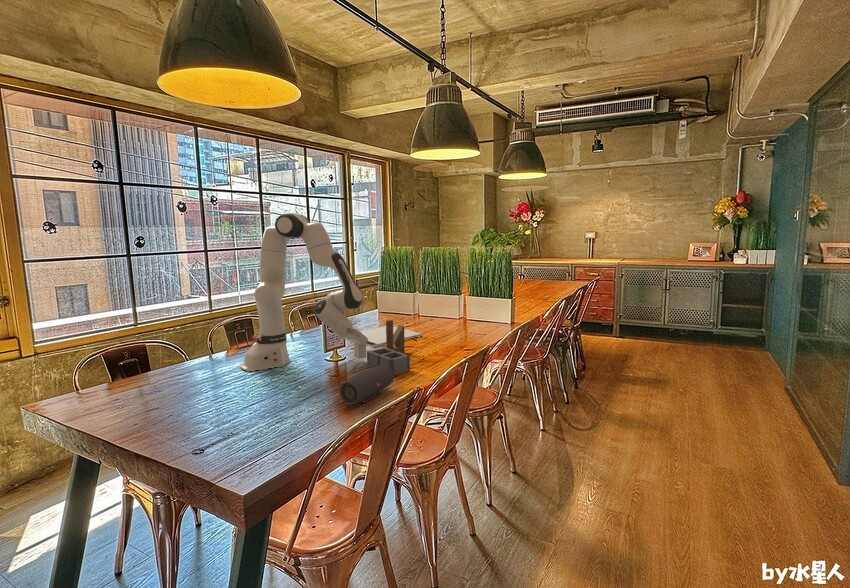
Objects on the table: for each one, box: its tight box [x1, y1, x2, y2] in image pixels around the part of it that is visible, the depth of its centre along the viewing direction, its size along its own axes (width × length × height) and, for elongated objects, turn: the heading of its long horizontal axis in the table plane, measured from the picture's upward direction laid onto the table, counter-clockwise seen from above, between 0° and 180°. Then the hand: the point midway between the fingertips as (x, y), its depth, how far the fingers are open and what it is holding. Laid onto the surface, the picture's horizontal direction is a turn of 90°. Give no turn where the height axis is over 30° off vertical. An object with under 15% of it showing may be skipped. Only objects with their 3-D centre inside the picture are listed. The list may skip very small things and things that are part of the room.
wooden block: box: [385, 319, 406, 354], centre depth 224 cm, size 4×11×18 cm, turn 142°
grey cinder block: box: [366, 347, 411, 376], centre depth 202 cm, size 10×18×7 cm, turn 41°
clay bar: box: [353, 342, 367, 360], centre depth 212 cm, size 4×4×10 cm
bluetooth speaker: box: [339, 365, 395, 406], centre depth 168 cm, size 23×9×10 cm, turn 151°
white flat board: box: [345, 325, 423, 349], centre depth 261 cm, size 35×2×31 cm
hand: (361, 344), depth 213 cm, fingers closed on clay bar, 4 cm apart
